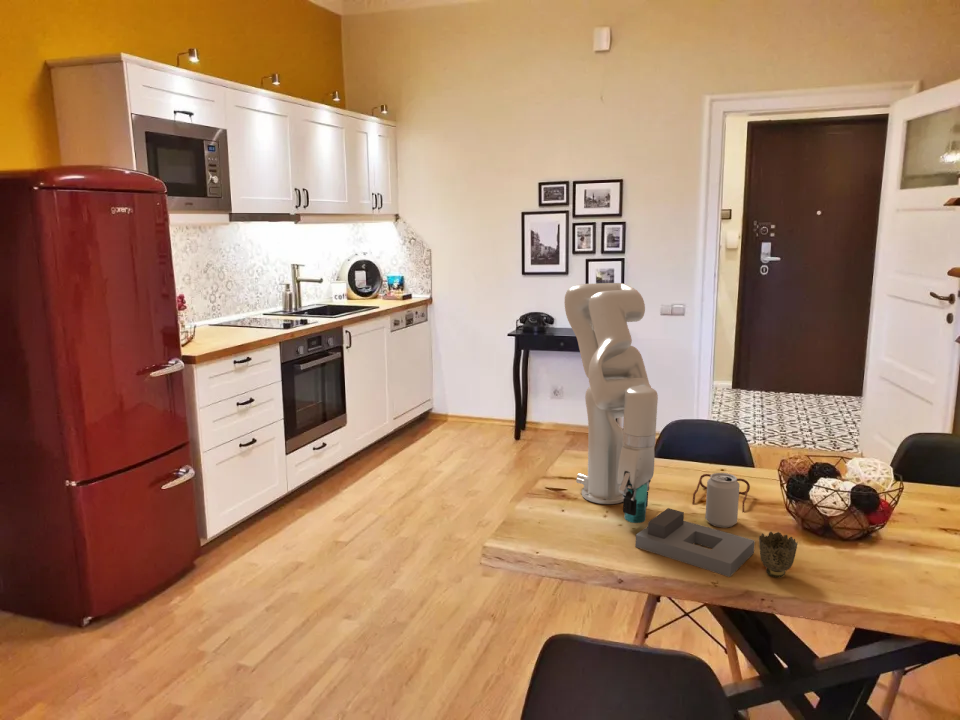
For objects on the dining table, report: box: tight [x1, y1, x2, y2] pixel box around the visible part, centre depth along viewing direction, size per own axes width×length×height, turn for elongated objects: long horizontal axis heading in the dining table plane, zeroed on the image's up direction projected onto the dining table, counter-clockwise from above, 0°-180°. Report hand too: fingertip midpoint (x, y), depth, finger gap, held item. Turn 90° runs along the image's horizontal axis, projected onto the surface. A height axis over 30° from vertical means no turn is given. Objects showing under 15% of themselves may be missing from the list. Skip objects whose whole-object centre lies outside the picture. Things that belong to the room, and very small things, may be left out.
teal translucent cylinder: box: [624, 483, 648, 524], centre depth 170 cm, size 5×5×9 cm
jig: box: [634, 507, 756, 578], centre depth 160 cm, size 22×14×6 cm, turn 50°
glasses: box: [691, 473, 751, 513], centre depth 188 cm, size 13×13×5 cm
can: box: [704, 472, 740, 529], centre depth 173 cm, size 8×8×12 cm
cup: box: [758, 531, 798, 578], centre depth 148 cm, size 8×7×8 cm
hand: (635, 508), depth 171 cm, fingers closed on teal translucent cylinder, 4 cm apart
